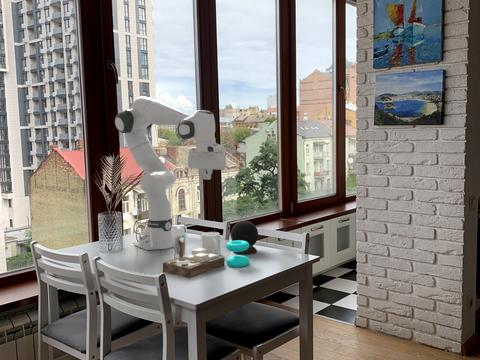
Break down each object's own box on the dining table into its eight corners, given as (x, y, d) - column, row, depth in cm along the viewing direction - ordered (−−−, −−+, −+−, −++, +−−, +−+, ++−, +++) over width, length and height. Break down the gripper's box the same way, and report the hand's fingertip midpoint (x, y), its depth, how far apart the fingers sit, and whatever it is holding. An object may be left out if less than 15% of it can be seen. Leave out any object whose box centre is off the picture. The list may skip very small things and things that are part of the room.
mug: (225, 258, 229) (224, 236, 228) (207, 260, 227) (207, 238, 226) (217, 252, 241) (216, 231, 240) (200, 254, 238) (199, 233, 237)
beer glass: (181, 261, 227) (180, 228, 225) (169, 259, 231) (168, 227, 229) (191, 257, 233) (189, 225, 231) (179, 255, 237) (178, 224, 235)
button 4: (204, 264, 217) (203, 255, 216) (211, 262, 220) (210, 253, 220) (211, 266, 214) (211, 257, 213) (218, 263, 217) (218, 254, 217)
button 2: (194, 264, 212) (193, 255, 212) (201, 261, 215) (200, 252, 215) (201, 265, 209) (201, 256, 209) (208, 263, 213) (208, 254, 212)
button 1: (182, 265, 217) (182, 256, 216) (190, 263, 220) (189, 254, 220) (189, 267, 214) (189, 257, 213) (197, 264, 217) (196, 255, 217)
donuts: (253, 242, 216) (235, 246, 210) (254, 264, 217) (236, 269, 211) (239, 238, 224) (221, 242, 218) (240, 260, 225) (222, 264, 219)
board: (162, 271, 211) (162, 261, 211) (198, 260, 227) (197, 250, 227) (189, 278, 201) (188, 267, 200) (224, 266, 217) (224, 255, 216)
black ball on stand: (263, 253, 237) (262, 221, 235) (236, 256, 232) (235, 224, 230) (252, 247, 249) (251, 217, 247) (227, 250, 244) (226, 219, 243)
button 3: (192, 258, 221) (192, 249, 221) (199, 256, 224) (199, 247, 224) (199, 260, 218) (199, 251, 218) (206, 258, 222) (206, 249, 221)
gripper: (183, 148, 223) (185, 179, 224) (217, 148, 209) (219, 181, 211) (194, 147, 227) (195, 177, 229) (227, 147, 214) (229, 179, 216)
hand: (207, 179), depth 220 cm, fingers closed
